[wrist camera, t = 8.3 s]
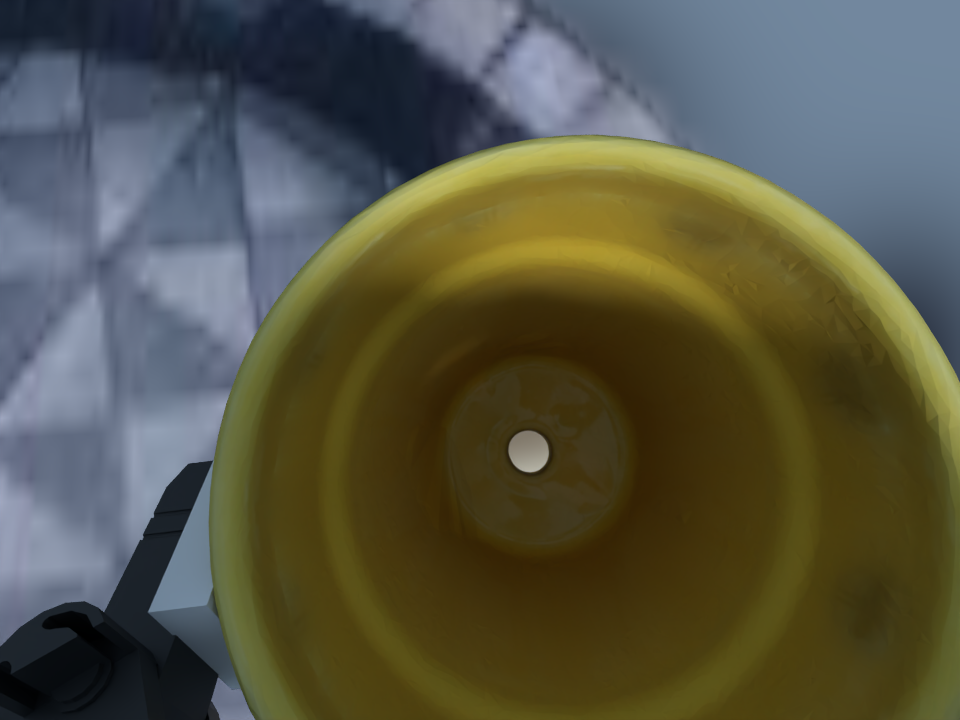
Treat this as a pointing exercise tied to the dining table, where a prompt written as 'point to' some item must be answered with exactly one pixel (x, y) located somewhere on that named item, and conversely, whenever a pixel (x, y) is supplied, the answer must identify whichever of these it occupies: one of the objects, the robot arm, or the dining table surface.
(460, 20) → the dining table surface
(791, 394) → the plant pot
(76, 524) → the dining table surface
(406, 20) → the dining table surface
